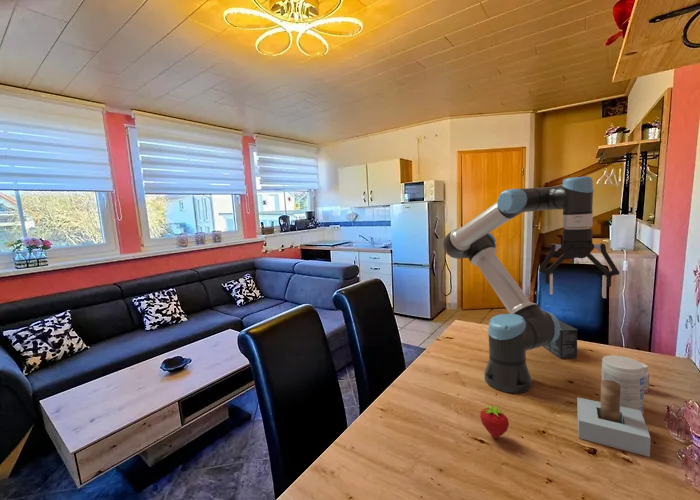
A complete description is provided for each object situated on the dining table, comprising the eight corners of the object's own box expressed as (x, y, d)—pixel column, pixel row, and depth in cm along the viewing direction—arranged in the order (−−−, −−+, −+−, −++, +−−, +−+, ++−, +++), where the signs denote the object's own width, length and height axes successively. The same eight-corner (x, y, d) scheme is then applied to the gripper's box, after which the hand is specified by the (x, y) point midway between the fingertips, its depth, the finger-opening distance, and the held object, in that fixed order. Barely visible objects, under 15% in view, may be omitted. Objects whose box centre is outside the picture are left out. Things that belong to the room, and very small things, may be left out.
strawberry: (501, 450, 83) (500, 414, 82) (475, 435, 89) (474, 401, 88) (514, 440, 86) (513, 405, 85) (488, 426, 92) (487, 393, 91)
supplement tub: (650, 421, 90) (652, 371, 88) (609, 417, 93) (610, 368, 91) (632, 401, 99) (633, 355, 97) (595, 398, 102) (596, 353, 100)
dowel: (600, 435, 86) (601, 385, 84) (599, 426, 89) (600, 378, 88) (620, 440, 84) (621, 389, 82) (618, 430, 87) (619, 381, 85)
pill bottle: (652, 393, 102) (653, 368, 101) (634, 392, 103) (635, 367, 102) (642, 385, 107) (642, 361, 106) (625, 384, 108) (626, 360, 107)
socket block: (578, 438, 85) (578, 420, 85) (577, 413, 95) (577, 397, 95) (649, 457, 78) (650, 437, 77) (640, 427, 87) (640, 410, 87)
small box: (578, 358, 128) (578, 329, 126) (560, 359, 128) (560, 330, 126) (557, 344, 141) (557, 318, 139) (541, 345, 141) (541, 319, 140)
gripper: (529, 230, 103) (530, 295, 105) (632, 227, 89) (630, 302, 91) (531, 228, 109) (532, 289, 111) (628, 225, 95) (626, 295, 98)
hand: (576, 295), depth 101 cm, fingers open, 13 cm apart
